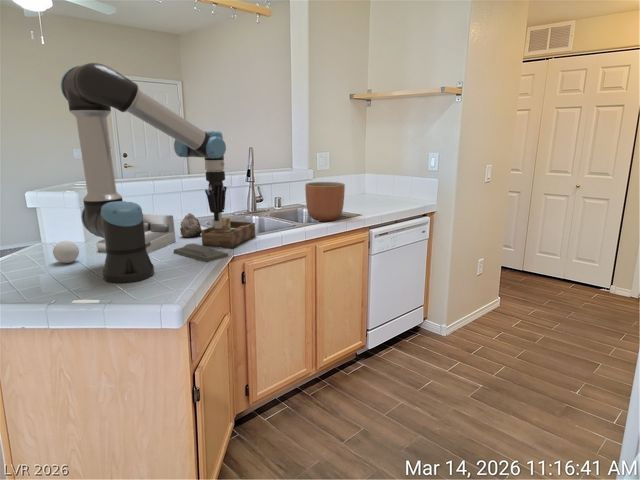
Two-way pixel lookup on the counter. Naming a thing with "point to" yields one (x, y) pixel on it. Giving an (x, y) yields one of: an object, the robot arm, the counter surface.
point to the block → (224, 225)
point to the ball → (66, 251)
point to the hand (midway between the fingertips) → (218, 228)
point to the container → (153, 232)
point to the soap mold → (200, 253)
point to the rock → (190, 226)
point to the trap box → (229, 235)
